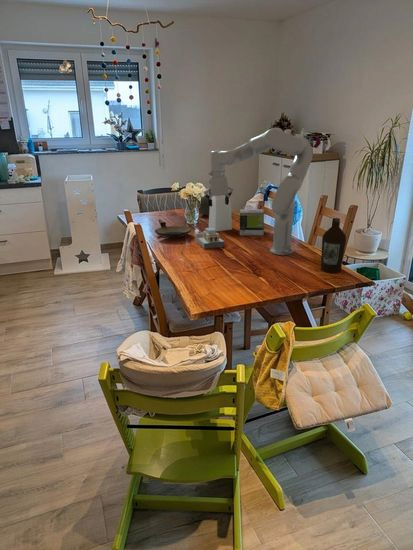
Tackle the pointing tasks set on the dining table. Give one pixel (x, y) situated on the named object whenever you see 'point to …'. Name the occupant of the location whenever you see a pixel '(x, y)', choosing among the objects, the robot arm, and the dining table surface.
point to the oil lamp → (171, 230)
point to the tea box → (251, 222)
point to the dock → (209, 244)
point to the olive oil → (333, 248)
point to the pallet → (210, 237)
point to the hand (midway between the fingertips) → (218, 205)
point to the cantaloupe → (204, 206)
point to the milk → (220, 214)
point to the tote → (210, 230)
